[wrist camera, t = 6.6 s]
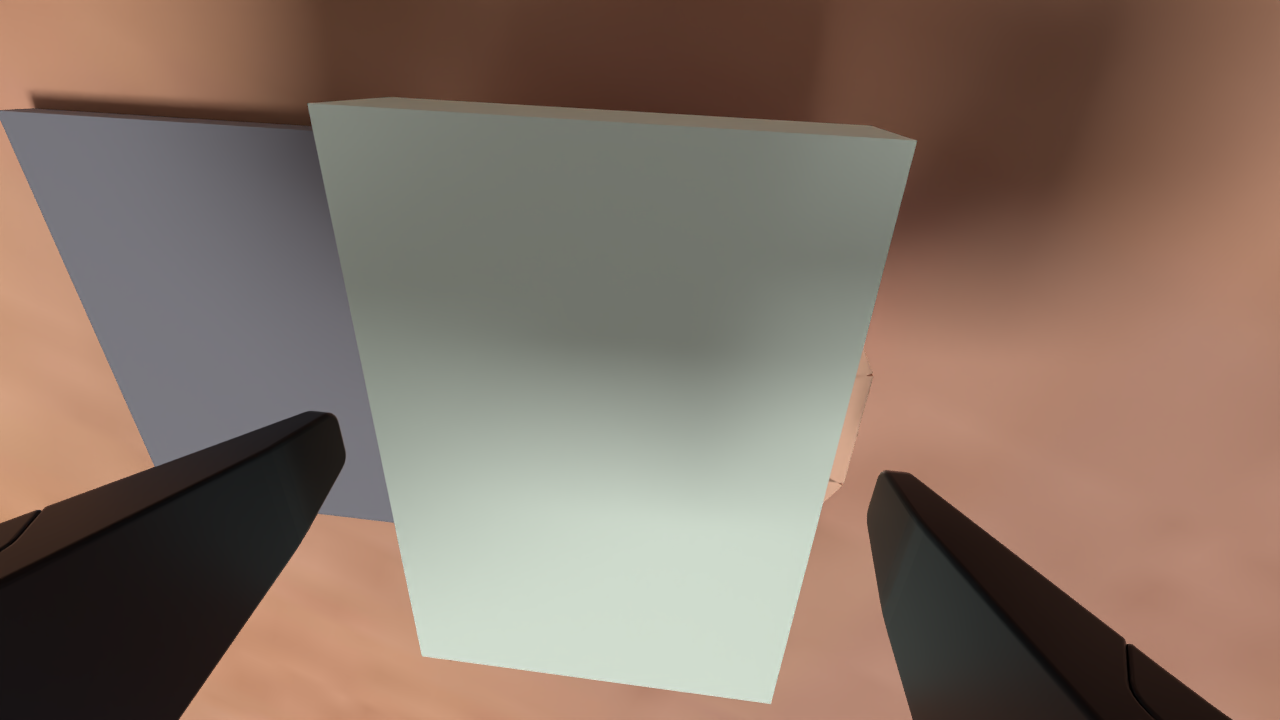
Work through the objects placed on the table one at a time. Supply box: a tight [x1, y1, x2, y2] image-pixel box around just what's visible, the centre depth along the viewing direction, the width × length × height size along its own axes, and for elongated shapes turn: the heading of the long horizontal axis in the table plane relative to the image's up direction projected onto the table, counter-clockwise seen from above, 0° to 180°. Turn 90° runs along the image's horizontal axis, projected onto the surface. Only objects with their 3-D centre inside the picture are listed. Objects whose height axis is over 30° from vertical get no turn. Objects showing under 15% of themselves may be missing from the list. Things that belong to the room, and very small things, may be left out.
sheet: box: [307, 97, 917, 704], centre depth 10 cm, size 7×10×2 cm
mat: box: [0, 108, 394, 523], centre depth 16 cm, size 8×12×1 cm
